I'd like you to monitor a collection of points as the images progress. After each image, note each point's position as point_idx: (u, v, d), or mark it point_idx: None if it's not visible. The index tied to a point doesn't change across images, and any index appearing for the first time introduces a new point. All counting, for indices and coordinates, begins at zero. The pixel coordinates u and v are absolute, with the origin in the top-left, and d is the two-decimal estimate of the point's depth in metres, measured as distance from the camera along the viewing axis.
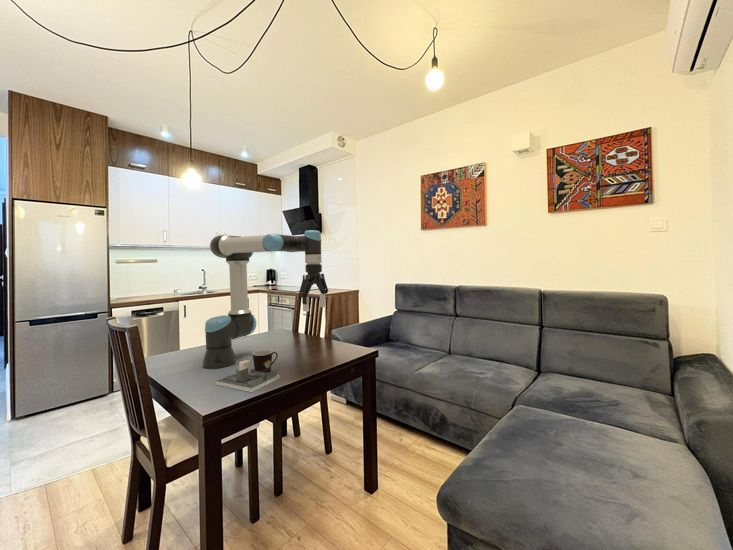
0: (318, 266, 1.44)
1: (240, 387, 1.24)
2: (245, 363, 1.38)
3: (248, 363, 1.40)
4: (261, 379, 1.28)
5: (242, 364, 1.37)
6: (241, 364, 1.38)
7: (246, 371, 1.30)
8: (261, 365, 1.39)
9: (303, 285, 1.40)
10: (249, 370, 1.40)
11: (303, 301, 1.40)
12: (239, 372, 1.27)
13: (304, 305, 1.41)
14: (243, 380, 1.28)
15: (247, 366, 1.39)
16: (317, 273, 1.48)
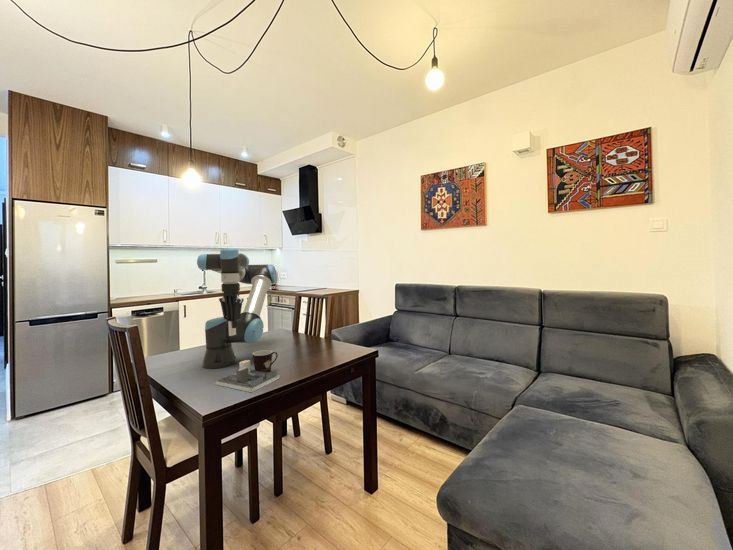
0: (222, 286, 1.38)
1: (240, 387, 1.24)
2: (245, 363, 1.38)
3: (248, 363, 1.40)
4: (261, 379, 1.28)
5: (242, 364, 1.37)
6: (241, 364, 1.38)
7: (246, 371, 1.30)
8: (261, 365, 1.39)
9: None
10: (249, 370, 1.40)
11: None
12: (239, 372, 1.27)
13: None
14: (243, 380, 1.28)
15: (247, 366, 1.39)
16: (231, 293, 1.40)
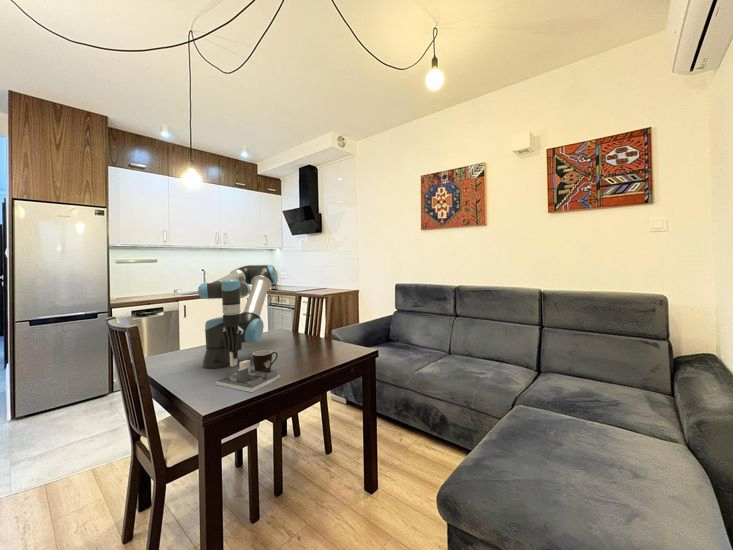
0: (223, 317, 1.39)
1: (240, 387, 1.24)
2: (245, 363, 1.38)
3: (248, 363, 1.40)
4: (261, 379, 1.28)
5: (242, 364, 1.37)
6: (241, 364, 1.38)
7: (246, 371, 1.30)
8: (261, 365, 1.39)
9: None
10: (249, 370, 1.40)
11: None
12: (239, 372, 1.27)
13: None
14: (243, 380, 1.28)
15: (247, 366, 1.39)
16: (232, 324, 1.40)
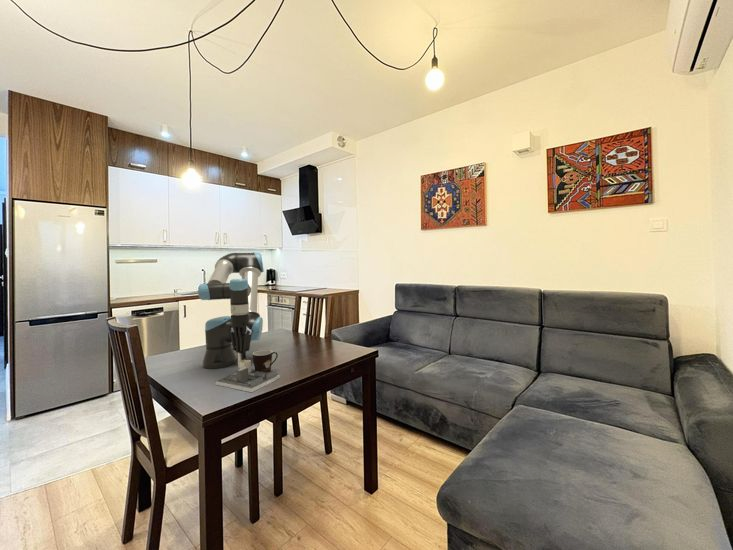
0: (231, 317, 1.37)
1: (240, 387, 1.24)
2: (246, 363, 1.38)
3: (249, 363, 1.40)
4: (261, 379, 1.28)
5: (243, 364, 1.37)
6: (242, 364, 1.37)
7: (246, 371, 1.30)
8: (261, 365, 1.39)
9: None
10: (250, 370, 1.40)
11: None
12: (239, 372, 1.27)
13: None
14: (243, 380, 1.28)
15: (248, 366, 1.39)
16: (240, 324, 1.38)
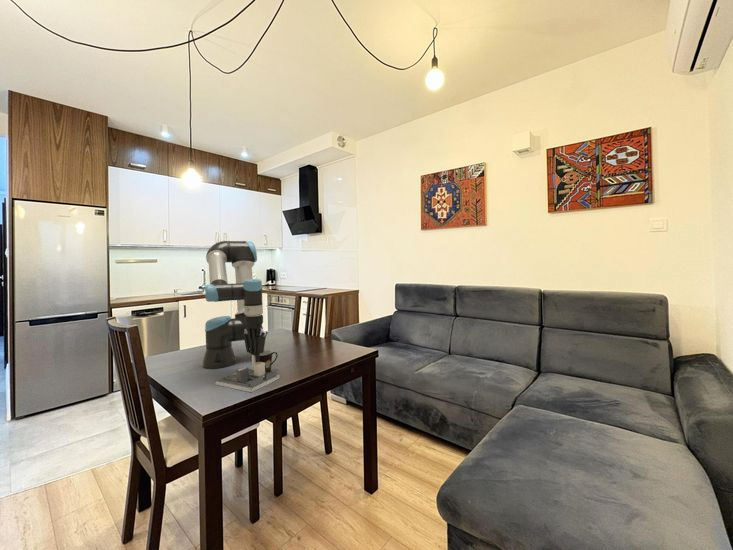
0: (245, 319, 1.33)
1: (240, 387, 1.24)
2: (259, 365, 1.35)
3: (262, 365, 1.36)
4: (261, 379, 1.28)
5: (256, 366, 1.34)
6: (255, 366, 1.34)
7: (246, 371, 1.30)
8: None
9: None
10: (263, 373, 1.37)
11: None
12: (239, 372, 1.27)
13: None
14: (243, 380, 1.28)
15: (261, 368, 1.36)
16: (254, 326, 1.34)
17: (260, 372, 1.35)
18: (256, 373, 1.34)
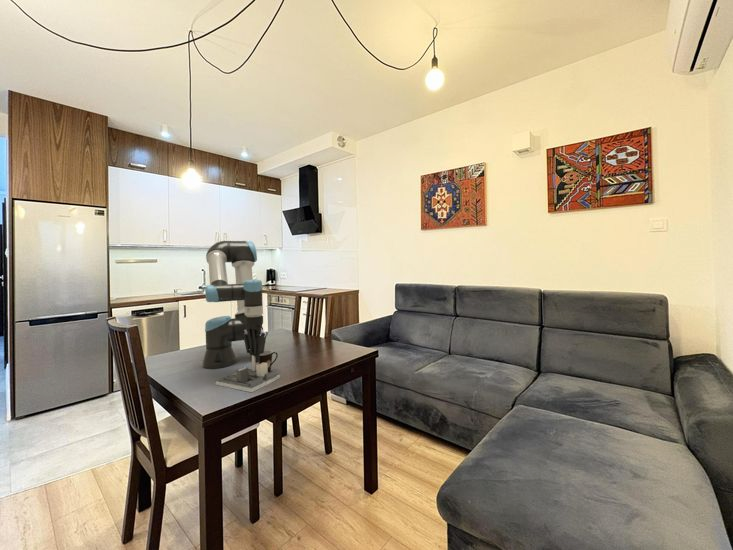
0: (245, 319, 1.33)
1: (240, 387, 1.24)
2: (262, 366, 1.34)
3: (265, 366, 1.35)
4: (261, 379, 1.28)
5: (259, 367, 1.33)
6: (258, 367, 1.33)
7: (246, 371, 1.30)
8: None
9: None
10: None
11: None
12: (239, 372, 1.27)
13: None
14: (243, 380, 1.28)
15: (264, 369, 1.35)
16: (254, 326, 1.34)
17: (262, 372, 1.34)
18: (259, 373, 1.33)
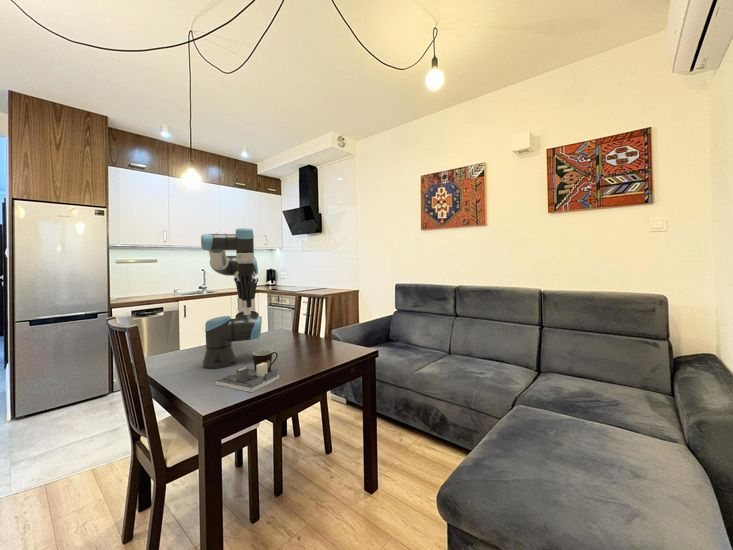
0: (237, 265, 1.40)
1: (240, 387, 1.24)
2: (262, 366, 1.34)
3: (265, 366, 1.35)
4: (261, 379, 1.28)
5: (259, 367, 1.33)
6: (258, 367, 1.33)
7: (246, 371, 1.30)
8: None
9: None
10: None
11: None
12: (239, 372, 1.27)
13: None
14: (243, 380, 1.28)
15: (264, 369, 1.35)
16: (246, 273, 1.41)
17: (262, 372, 1.34)
18: (259, 373, 1.33)
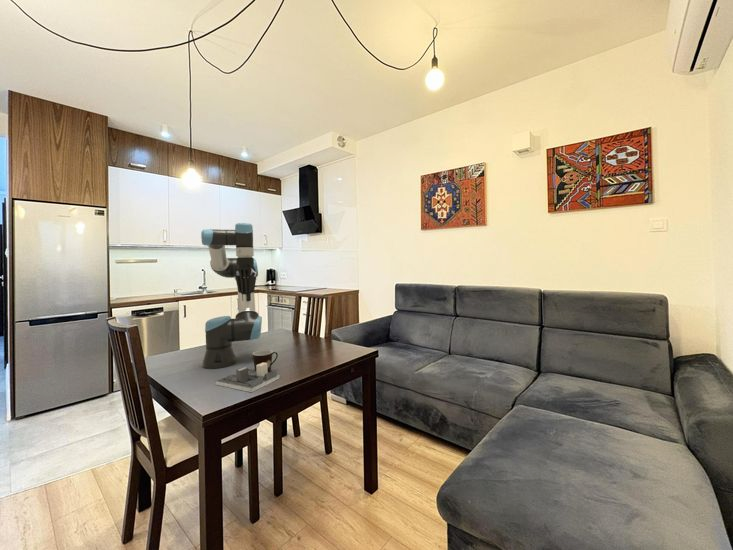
0: (237, 259, 1.42)
1: (240, 387, 1.24)
2: (262, 366, 1.34)
3: (265, 366, 1.35)
4: (261, 379, 1.28)
5: (259, 367, 1.33)
6: (258, 367, 1.33)
7: (246, 371, 1.30)
8: None
9: None
10: None
11: None
12: (239, 372, 1.27)
13: None
14: (243, 380, 1.28)
15: (264, 369, 1.35)
16: (245, 267, 1.43)
17: (262, 372, 1.34)
18: (259, 373, 1.33)
